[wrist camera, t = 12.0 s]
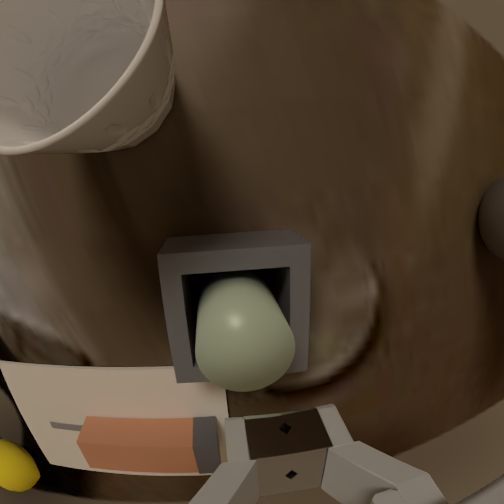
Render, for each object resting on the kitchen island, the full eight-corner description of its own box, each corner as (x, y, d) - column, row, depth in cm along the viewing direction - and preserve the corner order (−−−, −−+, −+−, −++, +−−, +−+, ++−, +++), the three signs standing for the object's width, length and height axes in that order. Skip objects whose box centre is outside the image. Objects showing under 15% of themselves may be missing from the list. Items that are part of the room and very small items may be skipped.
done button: (202, 339, 17) (201, 395, 13) (194, 271, 16) (189, 311, 12) (273, 333, 18) (294, 385, 13) (271, 265, 17) (296, 302, 12)
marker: (98, 442, 20) (90, 468, 17) (86, 415, 20) (75, 442, 17) (219, 443, 22) (221, 472, 19) (215, 416, 21) (217, 446, 18)
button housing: (181, 346, 20) (177, 383, 16) (167, 237, 18) (156, 254, 14) (290, 336, 20) (307, 370, 17) (290, 229, 19) (310, 243, 15)
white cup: (177, 164, 17) (137, 154, 7) (51, 161, 16) (-65, 162, 6) (195, 35, 15) (187, -74, 6) (72, 40, 14) (-10, -34, 4)
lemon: (41, 441, 21) (31, 483, 16) (47, 470, 22) (40, 509, 17) (-20, 418, 19) (-36, 455, 14) (-9, 450, 20) (-21, 485, 15)
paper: (51, 461, 21) (50, 464, 21) (-1, 360, 18) (-3, 362, 18) (235, 470, 23) (235, 473, 23) (222, 363, 20) (222, 366, 20)
